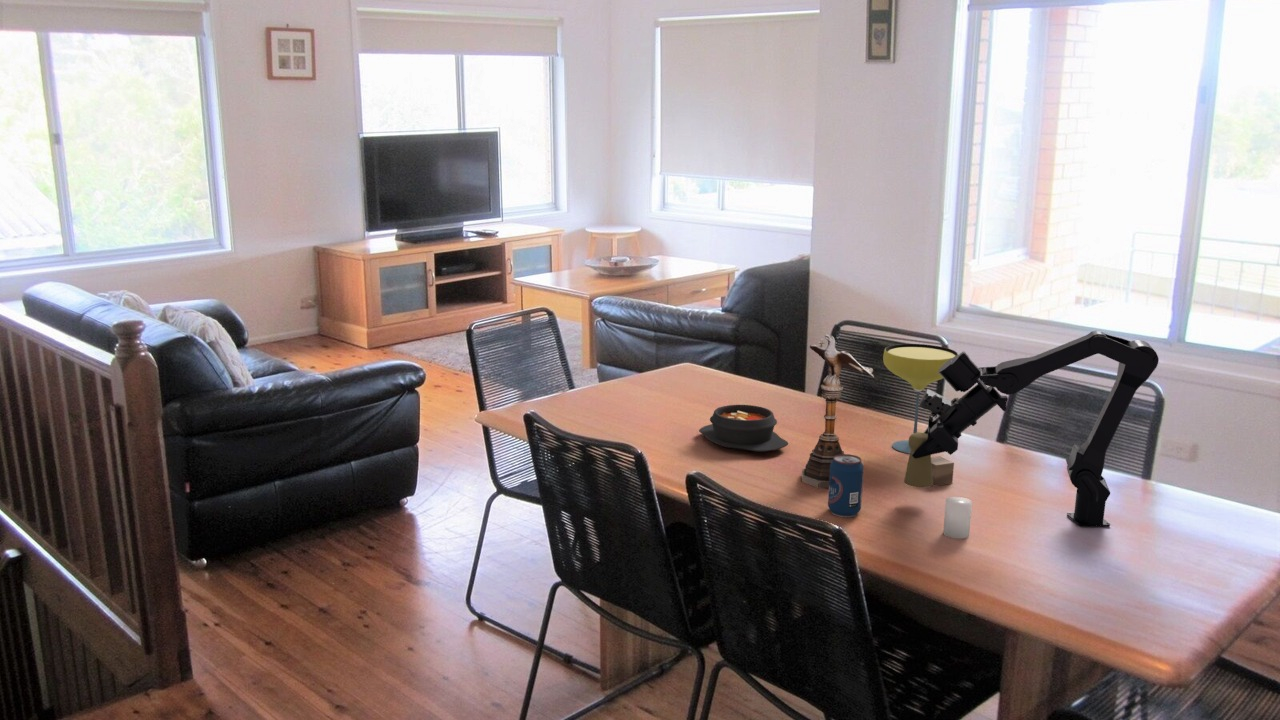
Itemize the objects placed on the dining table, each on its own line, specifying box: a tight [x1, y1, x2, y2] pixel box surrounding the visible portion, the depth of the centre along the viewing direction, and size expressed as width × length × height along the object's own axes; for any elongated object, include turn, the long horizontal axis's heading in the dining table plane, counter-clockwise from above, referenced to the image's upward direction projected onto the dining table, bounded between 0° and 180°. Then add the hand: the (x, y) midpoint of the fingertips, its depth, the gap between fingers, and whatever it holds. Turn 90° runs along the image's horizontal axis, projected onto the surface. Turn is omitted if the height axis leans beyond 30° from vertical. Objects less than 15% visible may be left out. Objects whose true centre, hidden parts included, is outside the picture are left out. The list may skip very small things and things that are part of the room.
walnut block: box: [931, 455, 955, 486], centre depth 243 cm, size 5×5×5 cm
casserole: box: [698, 404, 789, 453], centre depth 268 cm, size 25×19×8 cm
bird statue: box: [801, 333, 875, 489], centre depth 241 cm, size 17×13×35 cm
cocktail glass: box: [882, 343, 959, 455], centre depth 264 cm, size 18×18×25 cm
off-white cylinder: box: [942, 496, 973, 540], centre depth 212 cm, size 5×5×7 cm
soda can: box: [827, 453, 865, 518], centre depth 222 cm, size 7×7×12 cm
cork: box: [903, 432, 933, 488], centre depth 227 cm, size 6×6×11 cm
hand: (913, 453), depth 227 cm, fingers closed on cork, 5 cm apart
